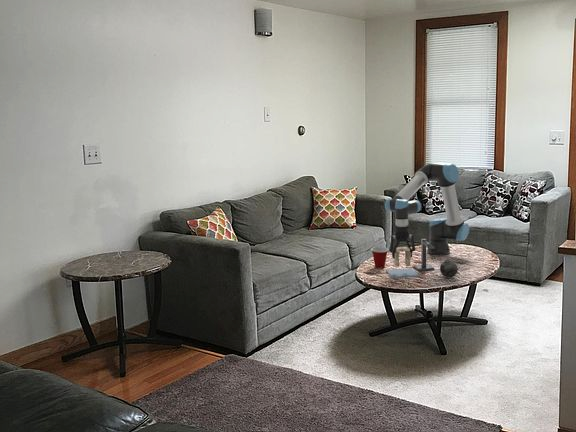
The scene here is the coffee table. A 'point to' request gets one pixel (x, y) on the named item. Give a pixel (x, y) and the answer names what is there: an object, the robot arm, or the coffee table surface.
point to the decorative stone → (448, 269)
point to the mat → (402, 273)
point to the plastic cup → (379, 256)
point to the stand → (424, 257)
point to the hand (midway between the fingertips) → (402, 263)
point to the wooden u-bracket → (407, 255)
